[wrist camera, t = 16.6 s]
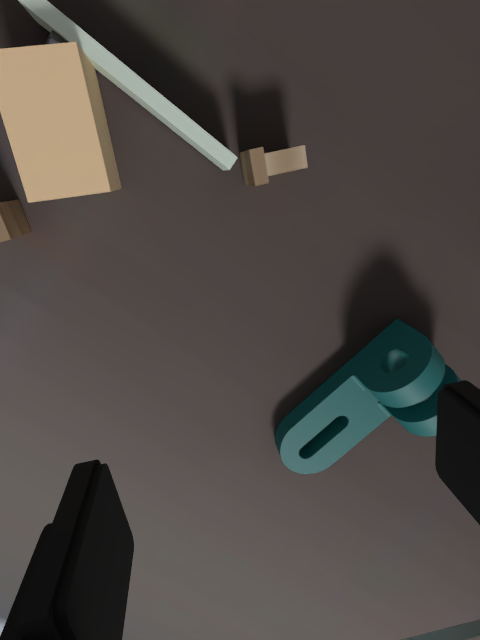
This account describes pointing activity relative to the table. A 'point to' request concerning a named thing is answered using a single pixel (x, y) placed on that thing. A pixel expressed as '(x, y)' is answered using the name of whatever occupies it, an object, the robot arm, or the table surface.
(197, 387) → the table surface
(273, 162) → the oak fence
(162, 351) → the table surface
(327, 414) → the bracket
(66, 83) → the block
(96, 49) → the sage gate
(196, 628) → the table surface
